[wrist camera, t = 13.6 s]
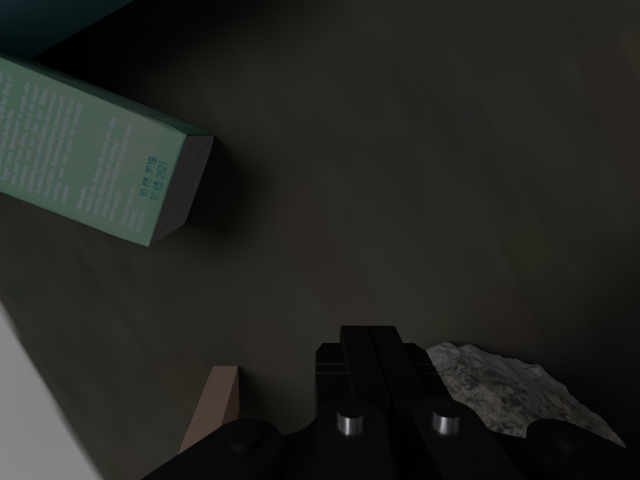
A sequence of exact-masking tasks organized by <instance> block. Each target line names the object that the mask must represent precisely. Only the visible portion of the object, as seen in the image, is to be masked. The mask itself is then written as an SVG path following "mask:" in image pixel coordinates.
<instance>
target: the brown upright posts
mask: <svg viewBox="0 0 640 480" xmlns="http://www.w3.org/2000/svg"><path fill="white" fill-rule="evenodd" d="M239 410H240V406H239V376H238V366H213V368H212V371H211V373H210V376H209V378H208V381H207V383H206V386H205V388H204V391H203V393H202V396H201V398H200V401H199V403H198V406H197V408H196V411H195V413H194V416H193V418H192V421H191V423H190V426H189V428H188V431H187V433H186V436H185V438H184V441H183V443H182V446H181V448H180V451H179V453H178V454H180V453H181V452H183V451H184V450H186V449H187V448H189V447H190V446H192V445H193V444H195V443H196V442H198V441H199V440H201V439H202V438H204V437H205V436H207V435H208V434H210V433H211V432H213V431H214V430H216V429H217V428H219V427H221V426H222V425H224V424H226V423H229V422H231V421H235V420H237V418H238V414H239Z"/></svg>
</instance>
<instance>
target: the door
mask: <svg viewBox="0 0 640 480" xmlns="http://www.w3.org/2000/svg"><path fill="white" fill-rule="evenodd" d="M132 1H134V0H0V52H3V53H7V54H11V55H14V56H18V57H22V58H26V59H29V60H30V59H31V58H33V57H35V56H37V55H38V54H40V53H42V52H44V51H46V50H47V49H49V48H51V47H53V46H54V45H56V44H58V43H60V42H61V41H63V40H65V39H67V38H69V37H70V36H72V35H74V34H76V33H77V32H79V31H81V30H83V29H84V28H86V27H88V26H90V25H91V24H93V23H95V22H97V21H99V20H100V19H102V18H104V17H106V16H107V15H109V14H111V13H113V12H114V11H116V10H118V9H120V8H122V7H123V6H125V5H127V4H129V3H130V2H132Z"/></svg>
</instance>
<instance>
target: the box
mask: <svg viewBox="0 0 640 480" xmlns="http://www.w3.org/2000/svg"><path fill="white" fill-rule="evenodd" d="M213 141H214V135H213V134H211V133H209V132H207V131H205V130H203V129H201V128H199V127H197V126H194V125H192V124H189V123H187V122H184V121H182V120H179V119H177V118H175V117H172V116H170V115H167V114H165V113H162V112H160V111H157V110H155V109H152V108H150V107H148V106H145V105H143V104H140V103H138V102H135V101H133V100H130V99H128V98H125V97H123V96H120V95H118V94H115V93H113V92H111V91H108V90H106V89H103V88H101V87H98V86H96V85H93V84H91V83H88V82H86V81H83V80H80V79H78V78H75V77H73V76H70V75H68V74H65V73H63V72H60V71H58V70H55V69H53V68H51V67H48V66H46V65H43V64H41V63H38V62H35V61H32V60H29V59H26V58H22V57H18V56H14V55H11V54H7V53H3V52H0V192H3V193H5V194H8V195H11V196H13V197H16V198H18V199H21V200H24V201H26V202H29V203H31V204H34V205H37V206H39V207H42V208H45V209H47V210H50V211H52V212H55V213H58V214H60V215H63V216H66V217H68V218H71V219H73V220H76V221H79V222H81V223H84V224H86V225H89V226H91V227H94V228H96V229H99V230H102V231H104V232H107V233H110V234H112V235H115V236H118V237H120V238H123V239H125V240H128V241H132V242H135V243H138V244H141V245H145V246H148V247H149V246H152V245H153V244H155V243H156V242H157V241H159V240H160V239H162V238H164V237H165V236H167V235H168V234H170V233H172V232H173V231H175V230H177V229H178V228H180V227H182V226H183V225H184V223H185V221H186V219H187V216H188V213H189V211H190V208H191V205H192V202H193V200H194V197H195V194H196V191H197V188H198V186H199V183H200V180H201V177H202V175H203V172H204V169H205V166H206V164H207V161H208V157H209V154H210V151H211V148H212V144H213Z"/></svg>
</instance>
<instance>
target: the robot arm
mask: <svg viewBox="0 0 640 480" xmlns="http://www.w3.org/2000/svg"><path fill="white" fill-rule="evenodd" d="M141 480H640V454H638V453H636V452H634V451H631V450H629V449H627V448H625V447H623V446H621V445H619V444H616V443H614V442H612V441H610V440H608V439H606V438H604V437H602V436H599V435H597V434H595V433H593V432H591V431H589V430H587V429H585V428H582V427H580V426H578V425H575V424H573V423H570V422H566V421H562V420H557V419H539V420H535V421H533V422H531V423H530V424H529V425H528V427H527V431H526V437H525V438H523V437H518V436H513V435H508V434H503V433H499V432H495V431H491V430H489V429H488V428H487V426H486V425H485V424H484V422H483V421H482V419H481V418H480V417H479V415H478V414H477V413H476V412H475V411H474V410H473V409H471V408H470V407H468V406H467V405H465V404H463V403H461V402H458V401H456V400H453V398H452V396H451V395H450V393H449V391H448V389H447V388H446V386H445V384H444V382H443V380H442V379H441V377H440V375H439V374H438V371H437V370H436V368H435V366H434V365H433V363H432V361H431V359H430V357H429V355H428V354H427V352H426V351H424V350H423V349H421V348H420V347H419V346H417V345H416V344H415V343H403V342H402V340H401V338H400V336H399V334H398V332H397V329H396V327H395V326H368V327H367V326H341V329H340V343H322V345H321V346H320V347H319V349H318V350H317V351H316V362H315V420H314V421H313V422H312V423H311V424H310V425H308V426H307V427H306V428H304V429H302V430H300V431H298V432H295V433H291V434H288V435H283V436H281V434H280V432H279V430H278V429H277V428H276V427H275V426H274V425H272V424H271V423H269V422H266V421H263V420H259V419H239V420H235V421H231V422H229V423H226V424H224V425H222V426H221V427H219V428H217V429H216V430H214V431H213V432H211V433H210V434H208V435H207V436H205V437H204V438H202V439H201V440H199V441H198V442H196V443H195V444H193V445H192V446H190V447H189V448H187V449H186V450H184V451H183V452H181V453H180V454H178V455H177V456H175V457H174V458H172V459H171V460H169V461H168V462H166V463H165V464H163V465H162V466H160V467H159V468H157V469H156V470H154V471H153V472H151V473H150V474H148V475H147V476H145V477H144V478H142V479H141Z"/></svg>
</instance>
